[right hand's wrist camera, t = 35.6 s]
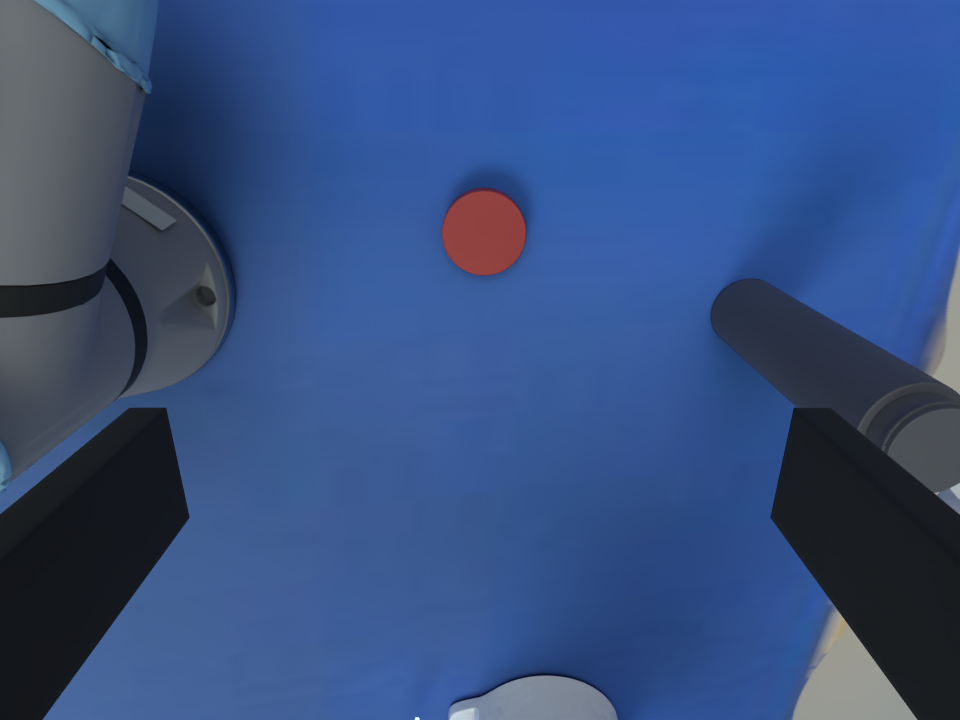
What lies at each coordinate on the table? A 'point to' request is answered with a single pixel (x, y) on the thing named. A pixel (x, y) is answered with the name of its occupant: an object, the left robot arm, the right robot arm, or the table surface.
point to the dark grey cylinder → (844, 378)
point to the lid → (484, 231)
